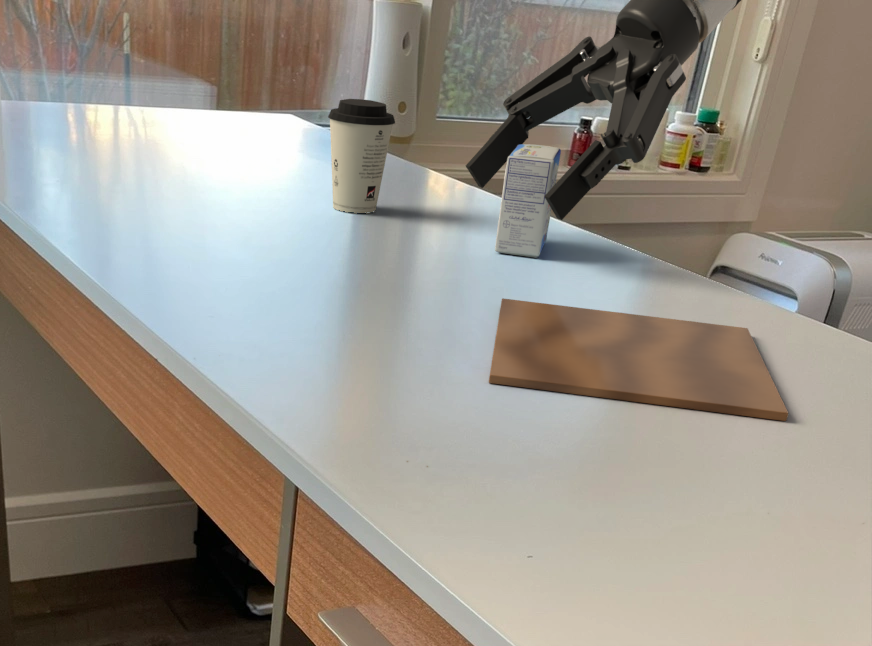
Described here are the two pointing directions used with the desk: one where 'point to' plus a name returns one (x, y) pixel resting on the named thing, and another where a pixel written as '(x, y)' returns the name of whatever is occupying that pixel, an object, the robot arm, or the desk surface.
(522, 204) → the medicine box
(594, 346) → the wooden board
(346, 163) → the coffee cup
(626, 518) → the desk surface
